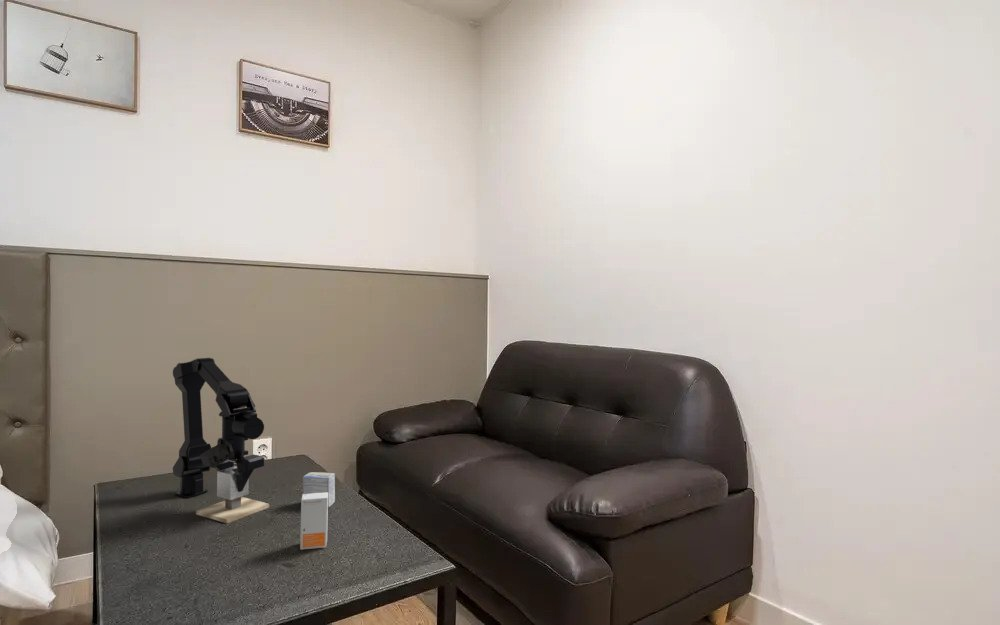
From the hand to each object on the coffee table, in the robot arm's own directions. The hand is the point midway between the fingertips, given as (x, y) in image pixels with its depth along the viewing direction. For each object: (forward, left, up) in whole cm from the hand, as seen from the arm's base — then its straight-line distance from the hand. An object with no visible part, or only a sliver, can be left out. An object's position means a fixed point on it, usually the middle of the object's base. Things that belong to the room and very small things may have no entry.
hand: (233, 489), depth 150 cm
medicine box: (+17, +15, -6) cm, 24 cm away
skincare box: (+36, -5, -6) cm, 37 cm away
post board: (0, 0, -6) cm, 6 cm away
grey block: (0, 0, -2) cm, 2 cm away
